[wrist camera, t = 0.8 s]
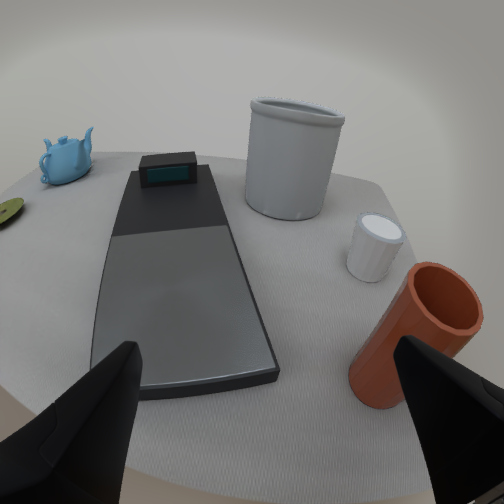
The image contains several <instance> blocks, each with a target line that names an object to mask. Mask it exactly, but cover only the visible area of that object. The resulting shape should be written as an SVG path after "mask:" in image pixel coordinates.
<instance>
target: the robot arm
mask: <svg viewBox="0 0 504 504" xmlns="http://www.w3.org/2000/svg"><path fill="white" fill-rule="evenodd" d="M393 359H394V363H395V366H396V370H397V373H398V377H399V381H400V384H401V388H402V391H403V394H404V397H405V400H406V402H407V405H408V408H409V411H410V414H411V417H412V419H413V422H414V425H415V428H416V431H417V434H418V438H419V441H420V444H421V447H422V451H423V454H424V457H425V461H426V464H427V468H428V472H429V476H430V480H431V484H432V488H433V492H434V497H435V501H436V504H468V503H470V502H471V501H473V500H475V502H474V503H473V504H504V389H502V388H500V387H498V386H496V385H495V384H493V383H491V382H490V381H488V380H486V379H484V378H483V377H480V375H478V374H476V373H474V372H473V371H471V370H470V369H468V368H466V367H465V366H463V365H461V364H460V363H458V362H456V361H455V360H453V359H451V358H450V357H448V356H446V355H445V354H443V353H441V352H440V351H438V350H436V349H435V348H433V347H431V346H430V345H428V344H426V343H425V342H423V341H421V340H420V339H418V338H416V337H415V336H413V335H403V336H401V337H400V339H399V341H398V343H397V345H396V347H395V350H394V352H393ZM142 367H143V360H142V356H141V352H140V349H139V345H138V343H137V342H135V341H124V342H122V343H121V344H120V345H119V346H118V347H117V348H115V349H114V350H113V351H112V352H111V353H110V354H108V355H107V356H106V357H105V358H104V359H103V360H101V361H100V362H99V363H98V364H97V365H96V366H94V367H93V368H92V369H91V370H90V371H89V372H88V373H86V374H85V375H84V376H83V377H82V378H81V379H79V380H78V381H77V382H76V383H75V384H74V385H73V386H71V387H70V388H69V389H68V390H67V391H66V392H65V393H63V394H62V395H61V396H60V397H59V398H58V399H57V400H55V403H52V404H51V405H50V406H48V407H47V408H46V409H45V410H44V411H43V412H41V413H40V414H39V415H38V416H37V417H35V418H34V419H33V420H32V421H30V422H29V423H27V424H26V425H25V426H23V427H22V428H20V429H19V430H18V431H16V432H15V433H13V434H12V435H10V436H9V437H7V438H6V439H5V440H3V441H2V442H0V504H119V498H120V491H121V484H122V479H123V473H124V468H125V462H126V457H127V452H128V447H129V442H130V437H131V433H132V428H133V424H134V419H135V415H136V411H137V406H138V398H139V390H140V382H141V375H142Z"/></svg>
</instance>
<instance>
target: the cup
mask: <svg viewBox="0 0 504 504" xmlns="http://www.w3.org/2000/svg"><path fill="white" fill-rule="evenodd" d="M482 322H483V311H482V305H481V303H480V300H479V298H478V296H477V294H476V292H475V291H474V290H473V289H472V287H471V286H470V285H469V284H468V283H467V281H466V280H465V279H464V278H462V277H461V276H460V275H458V274H457V273H456V272H455V271H453V270H451V269H449V268H447V267H445V266H443V265H441V264H438V263H432V262H422V263H417V264H415V265H414V266H413V267H412V268H411V269H410V270H409V272H408V273H407V275H406V277H405V279H404V281H403V283H402V284H401V286H400V288H399V290H398V291H397V293H396V295H395V296H394V298H393V300H392V302H391V303H390V305H389V306H388V308H387V310H386V311H385V313H384V315H383V316H382V318H381V319H380V321H379V322H378V324H377V325H376V327H375V329H374V330H373V332H372V333H371V335H370V336H369V337H368V339H367V340H366V342H365V343H364V345H363V346H362V348H361V349H360V350H359V352H358V353H357V355H356V356H355V358H354V360H353V361H352V363H351V366H350V369H349V382H350V385H351V388H352V390H353V392H354V394H355V395H356V396H357V397H358V398H359V400H361V401H362V402H363V403H364V404H366V405H368V406H370V407H373V408H377V409H388V408H392V407H394V406H396V405H398V404H399V403H401V402H402V401H404V400H405V397H404V394H403V391H402V388H401V384H400V381H399V377H398V373H397V370H396V366H395V363H394V359H393V352H394V350H395V347H396V345H397V343H398V341H399V339H400V337H401V336H403V335H413V336H415V337H416V338H418V339H420V340H421V341H423V342H425V343H426V344H428V345H430V346H431V347H433V348H435V349H436V350H438V351H440V352H441V353H443V354H445V355H446V356H448V357H450V358H451V359H452V358H453V357H454V356H455V355H456V354H457V353H458V352H459V351H460V350H461V349H462V348H463V347H464V346H465V345H466V344H467V343H468V342H469V341H470V340H471V339H472V338H473V337H474V335H475V334H476V333H477V332H478V331H479V329H480V328H481V325H482Z"/></svg>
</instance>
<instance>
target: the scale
mask: <svg viewBox="0 0 504 504" xmlns="http://www.w3.org/2000/svg"><path fill="white" fill-rule="evenodd" d="M124 341H135V342H137V343H138V345H139V349H140V352H141V356H142V360H143V367H142V375H141V382H140V390H139V398H138V401H141V400H157V399H170V398H180V397H189V396H197V395H205V394H212V393H219V392H225V391H231V390H236V389H242V388H247V387H252V386H257V385H262V384H267V383H271V382H275V381H276V380H277V378H278V375H279V372H280V367H279V365H278V362H277V359H276V356H275V354H274V351H273V348H272V345H271V343H270V340H269V337H268V334H267V332H266V329H265V326H264V323H263V320H262V318H261V315H260V312H259V309H258V306H257V304H256V301H255V298H254V295H253V292H252V290H251V287H250V284H249V281H248V278H247V275H246V273H245V270H244V267H243V264H242V261H241V258H240V255H239V253H238V250H237V247H236V244H235V241H234V238H233V235H232V232H231V229H230V227H229V224H228V221H227V218H226V215H225V212H224V209H223V206H222V203H221V200H220V197H219V194H218V191H217V188H216V186H215V183H214V180H213V177H212V174H211V171H210V168H209V165H208V164H207V165H197V160H196V155H195V152H180V153H167V154H157V155H148V156H142V158H141V161H140V165H139V171H131V173H130V176H129V179H128V182H127V185H126V188H125V191H124V194H123V197H122V200H121V204H120V207H119V210H118V214H117V217H116V221H115V224H114V228H113V232H112V235H111V239H110V243H109V247H108V251H107V256H106V260H105V265H104V269H103V274H102V279H101V284H100V290H99V295H98V301H97V308H96V314H95V321H94V329H93V338H92V347H91V359H90V370H91V369H92V368H93V367H94V366H96V365H97V364H98V363H99V362H100V361H101V360H103V359H104V358H105V357H106V356H107V355H108V354H110V353H111V352H112V351H113V350H114V349H115V348H117V347H118V346H119V345H120V344H121V343H122V342H124Z"/></svg>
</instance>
